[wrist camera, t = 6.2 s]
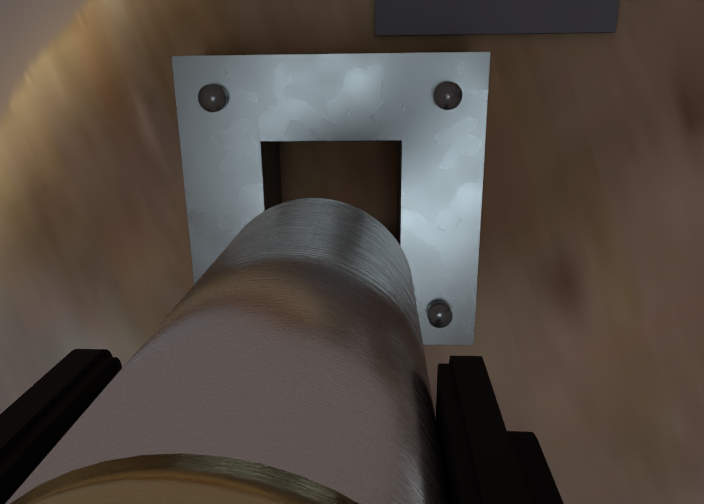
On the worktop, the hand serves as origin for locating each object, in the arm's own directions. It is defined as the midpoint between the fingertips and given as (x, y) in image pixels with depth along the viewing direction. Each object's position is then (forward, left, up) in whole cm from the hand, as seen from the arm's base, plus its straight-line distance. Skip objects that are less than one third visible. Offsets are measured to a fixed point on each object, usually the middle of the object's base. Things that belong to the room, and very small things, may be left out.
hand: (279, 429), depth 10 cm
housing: (0, 0, -23) cm, 23 cm away
